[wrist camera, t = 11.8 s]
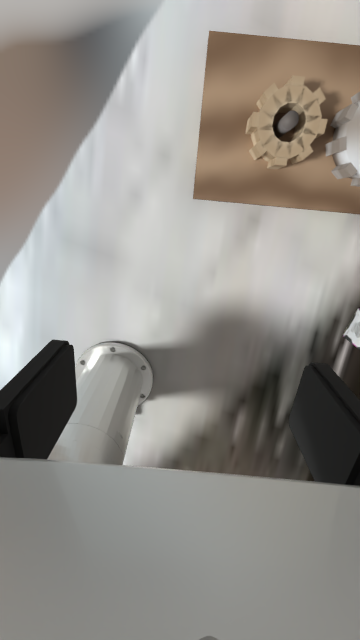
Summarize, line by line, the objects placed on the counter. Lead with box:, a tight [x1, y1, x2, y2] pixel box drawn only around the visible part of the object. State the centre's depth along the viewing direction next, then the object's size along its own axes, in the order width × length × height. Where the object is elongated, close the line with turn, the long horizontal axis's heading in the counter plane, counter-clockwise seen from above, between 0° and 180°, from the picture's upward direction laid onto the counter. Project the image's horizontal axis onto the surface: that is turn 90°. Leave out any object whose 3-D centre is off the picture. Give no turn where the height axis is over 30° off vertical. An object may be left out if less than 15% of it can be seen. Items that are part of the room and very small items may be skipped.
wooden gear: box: [245, 75, 328, 169], centre depth 28 cm, size 7×7×3 cm
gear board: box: [193, 31, 360, 214], centre depth 28 cm, size 15×24×7 cm, turn 85°
